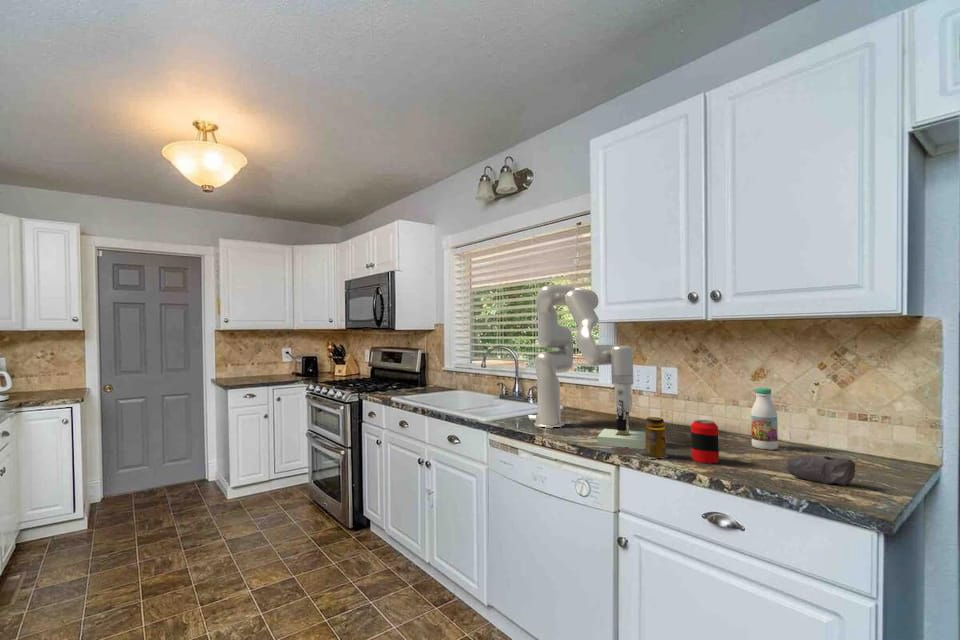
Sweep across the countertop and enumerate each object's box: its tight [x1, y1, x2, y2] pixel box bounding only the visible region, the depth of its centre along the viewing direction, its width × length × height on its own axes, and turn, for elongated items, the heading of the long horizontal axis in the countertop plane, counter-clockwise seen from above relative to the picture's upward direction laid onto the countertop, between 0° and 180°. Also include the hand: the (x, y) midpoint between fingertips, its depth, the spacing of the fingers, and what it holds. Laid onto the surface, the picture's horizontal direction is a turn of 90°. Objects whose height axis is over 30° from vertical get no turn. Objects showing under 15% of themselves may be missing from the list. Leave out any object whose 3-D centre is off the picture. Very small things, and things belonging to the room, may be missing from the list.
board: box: [596, 428, 646, 450], centre depth 169 cm, size 16×14×3 cm
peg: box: [618, 414, 630, 436], centre depth 169 cm, size 4×4×10 cm
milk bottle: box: [750, 387, 779, 451], centre depth 160 cm, size 8×8×20 cm
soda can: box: [690, 419, 720, 464], centre depth 145 cm, size 8×8×12 cm
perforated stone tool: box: [785, 455, 856, 486], centre depth 124 cm, size 15×5×7 cm, turn 48°
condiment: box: [635, 416, 667, 459], centre depth 151 cm, size 7×8×12 cm
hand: (623, 427), depth 169 cm, fingers open, 9 cm apart
